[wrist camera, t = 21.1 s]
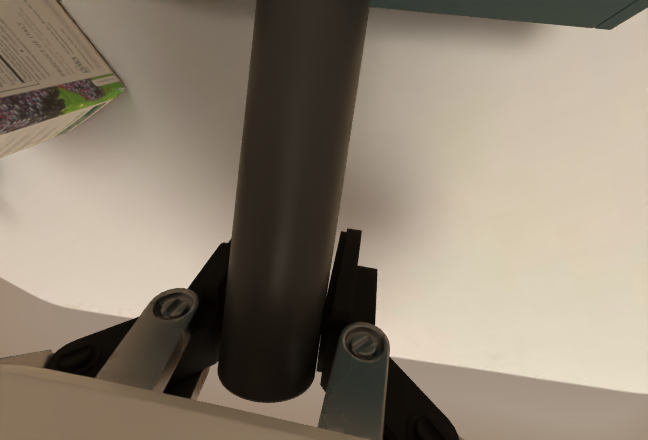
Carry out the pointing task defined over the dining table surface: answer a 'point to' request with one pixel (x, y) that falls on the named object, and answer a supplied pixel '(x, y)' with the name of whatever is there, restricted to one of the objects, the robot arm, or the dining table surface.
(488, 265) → the dining table surface
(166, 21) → the dining table surface
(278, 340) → the dustpan
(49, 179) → the dining table surface
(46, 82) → the syrup box
